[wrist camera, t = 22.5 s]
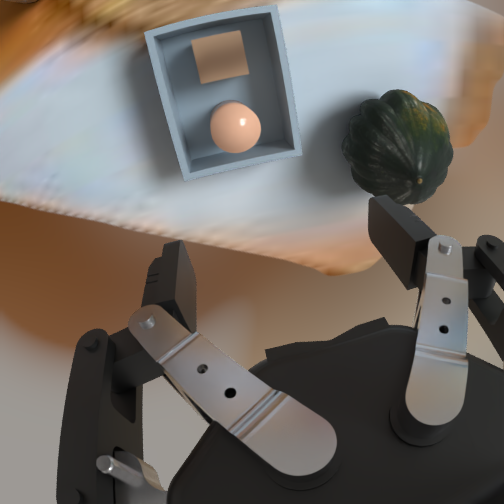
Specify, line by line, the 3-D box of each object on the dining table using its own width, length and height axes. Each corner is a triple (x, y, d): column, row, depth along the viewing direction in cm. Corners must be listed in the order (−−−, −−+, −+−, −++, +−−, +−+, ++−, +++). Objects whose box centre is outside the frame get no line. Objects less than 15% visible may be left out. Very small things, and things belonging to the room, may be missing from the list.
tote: (153, 36, 28) (144, 32, 24) (266, 12, 28) (276, 4, 24) (187, 165, 38) (184, 181, 34) (290, 142, 38) (302, 155, 34)
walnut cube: (193, 43, 29) (190, 40, 25) (235, 34, 29) (240, 30, 25) (202, 81, 32) (201, 84, 28) (243, 72, 32) (249, 74, 28)
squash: (463, 125, 33) (477, 122, 22) (424, 211, 42) (418, 245, 30) (378, 83, 38) (352, 64, 27) (346, 168, 46) (310, 184, 35)
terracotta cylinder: (205, 105, 34) (205, 112, 28) (246, 95, 34) (255, 100, 28) (215, 143, 36) (217, 158, 31) (254, 133, 36) (265, 146, 31)
